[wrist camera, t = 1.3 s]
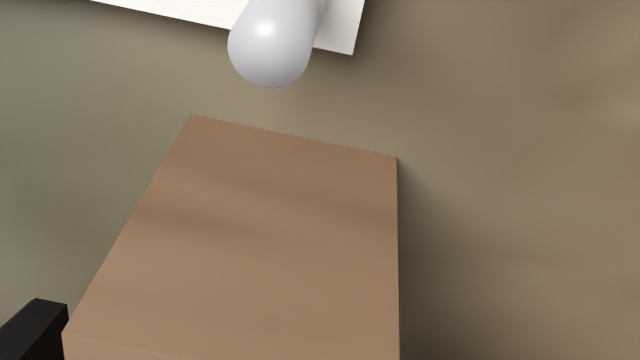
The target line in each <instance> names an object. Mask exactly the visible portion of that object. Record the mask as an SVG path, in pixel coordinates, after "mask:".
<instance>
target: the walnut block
mask: <svg viewBox="0 0 640 360" xmlns="http://www.w3.org/2000/svg"><path fill="white" fill-rule="evenodd" d="M61 335H62V343H63V350H64V358H65V360H399V293H398V223H397V157H394V156H389V155H384V154H379V153H375V152H370V151H365V150H360V149H355V148H351V147H346V146H341V145H336V144H331V143H326V142H322V141H317V140H312V139H307V138H302V137H298V136H293V135H288V134H283V133H278V132H274V131H269V130H264V129H259V128H254V127H249V126H245V125H240V124H235V123H230V122H225V121H221V120H216V119H211V118H206V117H201V116H196V115H192V114H191V115H190V117H189V118H188V120H187V122H186V123H185V125H184V127H183V129H182V130H181V132H180V134H179V135H178V137H177V139H176V140H175V142H174V144H173V145H172V147H171V149H170V150H169V152H168V154H167V156H166V157H165V159H164V161H163V162H162V164H161V166H160V167H159V169H158V171H157V172H156V174H155V176H154V177H153V179H152V181H151V183H150V184H149V186H148V188H147V189H146V191H145V193H144V194H143V196H142V198H141V199H140V201H139V203H138V205H137V206H136V208H135V210H134V211H133V213H132V215H131V216H130V218H129V220H128V221H127V223H126V225H125V226H124V228H123V230H122V232H121V233H120V235H119V237H118V238H117V240H116V242H115V243H114V245H113V247H112V248H111V250H110V252H109V253H108V255H107V257H106V259H105V260H104V262H103V264H102V265H101V267H100V269H99V270H98V272H97V274H96V275H95V277H94V279H93V280H92V282H91V284H90V286H89V287H88V289H87V291H86V292H85V294H84V296H83V297H82V299H81V301H80V302H79V304H78V306H77V307H76V309H75V311H74V313H73V314H72V316H71V318H70V319H69V321H68V323H67V324H66V326H65V328H64V329H63V331H62V333H61Z"/></svg>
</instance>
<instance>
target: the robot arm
mask: <svg viewBox="0 0 640 360" xmlns="http://www.w3.org/2000/svg"><path fill="white" fill-rule="evenodd" d="M68 321H69V316H68V308H67V304H63V303H58V302H53V301H48V300H43V299H38V298H35V299H33V300H31V301H30V302H29V303H28V304H27V305H25V306H24V307H23V308H22V309H21V310H20V311H19V312H18V313H16V314H15V315H14V316H13V317H12V318H11V319H10V320H8V321H7V322H6V323H5V324H4V325H3V326H2V327H0V360H65V358H64V350H63V343H62V335H61V333H62V331H63V329H64V328H65V326H66V324H67V323H68Z"/></svg>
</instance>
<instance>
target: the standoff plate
mask: <svg viewBox="0 0 640 360" xmlns="http://www.w3.org/2000/svg"><path fill="white" fill-rule="evenodd" d="M92 1H97V2H102V3H107V4H111V5H116V6H121V7H126V8H130V9H135V10H140V11H144V12H149V13H154V14H159V15H163V16H168V17H173V18H178V19H182V20H187V21H192V22H197V23H201V24H206V25H211V26H216V27H220V28H225V29H230V30H231V31H230V34H229V37H228V53H229V57H230V60H231V62H232V64H233V66H234V68H235V69H236V70H237V72H238V73H239V74H240V75H241V76H242V77H243V78H245V79H246V80H247V81H249V82H251V83H253V84H255V85H257V86H261V87H265V88H280V87H284V86H287V85H289V84H291V83H293V82H294V81H296V80H297V79H298V78H299V77H300V76H301V75H302V74H303V72H304V71H305V69H306V67H307V64H308V61H309V58H310V54H311V51H312V47H315V48H320V49H325V50H329V51H334V52H339V53H343V54H348V55H352V54H353V50H354V45H355V41H356V36H357V32H358V28H359V23H360V19H361V14H362V10H363V5H364V1H365V0H92Z"/></svg>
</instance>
